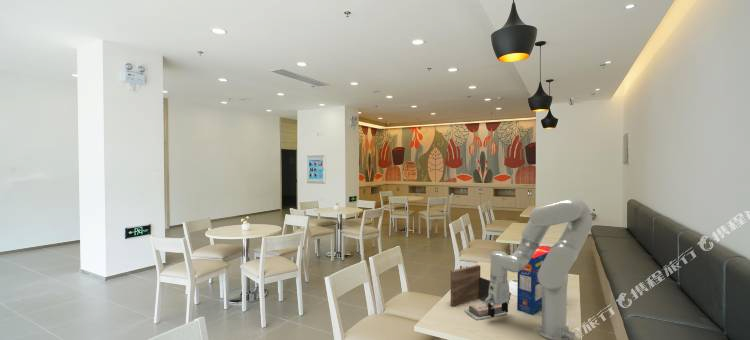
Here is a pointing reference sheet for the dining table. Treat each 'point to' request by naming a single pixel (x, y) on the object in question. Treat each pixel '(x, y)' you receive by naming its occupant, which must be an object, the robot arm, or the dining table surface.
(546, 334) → the robot arm
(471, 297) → the shelf panel
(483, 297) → the bookend
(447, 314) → the dining table surface
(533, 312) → the pasta box
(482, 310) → the packaged product
